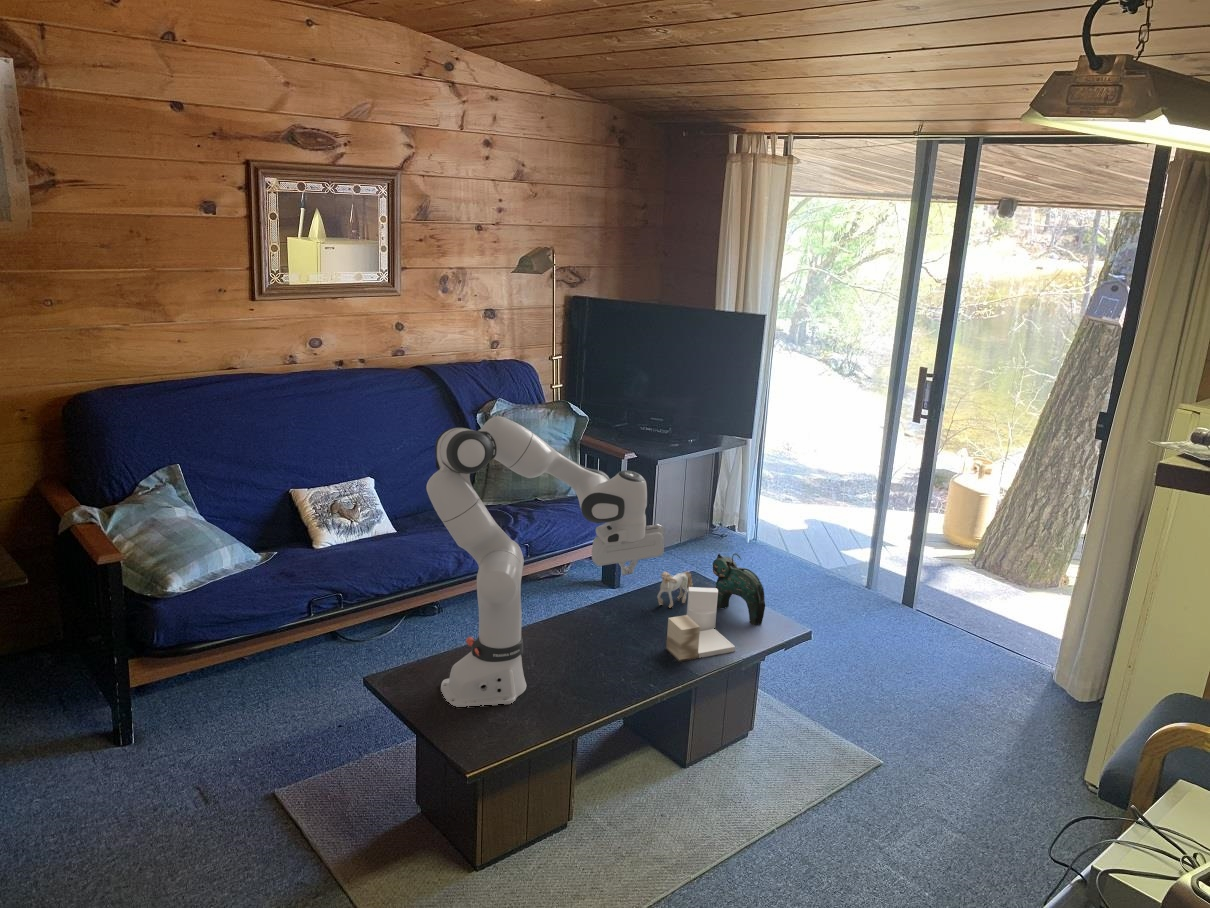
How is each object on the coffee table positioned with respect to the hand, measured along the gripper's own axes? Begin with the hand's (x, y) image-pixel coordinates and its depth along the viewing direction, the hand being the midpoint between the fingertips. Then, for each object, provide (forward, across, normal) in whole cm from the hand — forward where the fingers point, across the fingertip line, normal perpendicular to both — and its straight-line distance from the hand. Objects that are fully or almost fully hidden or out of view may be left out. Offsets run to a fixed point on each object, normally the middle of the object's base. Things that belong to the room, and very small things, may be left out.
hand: (627, 573), depth 264 cm
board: (+28, -26, +1) cm, 38 cm away
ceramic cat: (+31, -45, -15) cm, 57 cm away
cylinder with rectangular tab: (+30, -30, -11) cm, 44 cm away
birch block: (+28, -17, +3) cm, 32 cm away
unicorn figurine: (+31, -29, -24) cm, 48 cm away
